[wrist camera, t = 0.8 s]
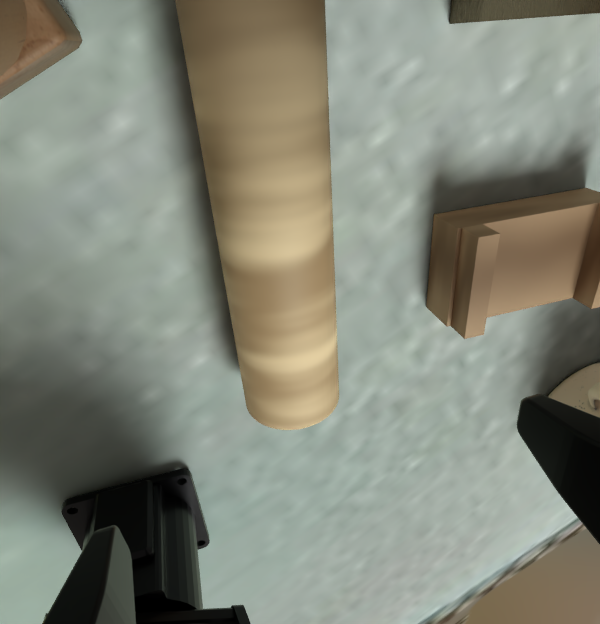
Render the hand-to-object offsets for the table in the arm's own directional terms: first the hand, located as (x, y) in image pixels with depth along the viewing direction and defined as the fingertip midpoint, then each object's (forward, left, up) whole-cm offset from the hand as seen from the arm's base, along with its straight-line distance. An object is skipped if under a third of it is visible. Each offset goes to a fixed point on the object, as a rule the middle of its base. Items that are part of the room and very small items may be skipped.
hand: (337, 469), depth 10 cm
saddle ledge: (-2, -13, -12) cm, 18 cm away
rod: (+1, -1, -12) cm, 12 cm away
